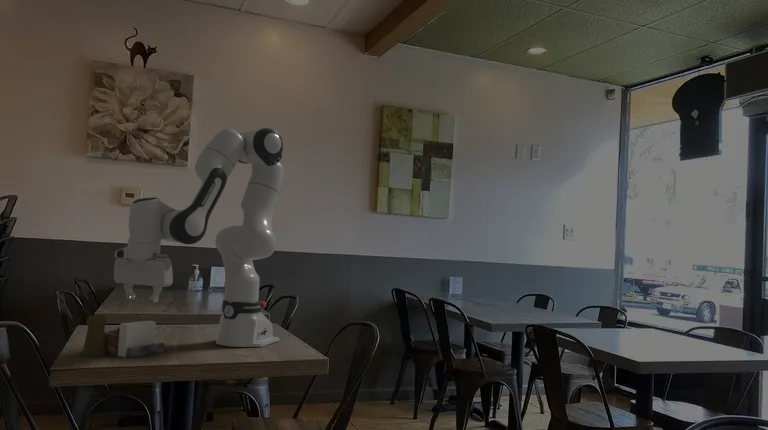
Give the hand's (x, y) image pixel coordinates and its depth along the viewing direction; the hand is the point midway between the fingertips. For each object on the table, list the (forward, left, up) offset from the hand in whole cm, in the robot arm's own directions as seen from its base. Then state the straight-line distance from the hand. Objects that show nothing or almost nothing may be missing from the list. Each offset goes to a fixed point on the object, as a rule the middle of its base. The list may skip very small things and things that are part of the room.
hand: (142, 300), depth 167 cm
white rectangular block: (+1, 0, -15) cm, 15 cm away
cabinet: (0, -4, -15) cm, 16 cm away
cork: (+9, -7, -16) cm, 19 cm away
